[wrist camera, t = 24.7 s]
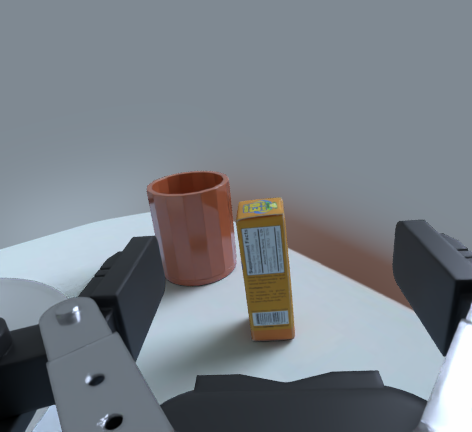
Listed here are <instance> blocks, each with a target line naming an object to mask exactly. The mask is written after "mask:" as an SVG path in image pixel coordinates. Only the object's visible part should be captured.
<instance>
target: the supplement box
mask: <svg viewBox="0 0 472 432" xmlns="http://www.w3.org/2000/svg"><path fill="white" fill-rule="evenodd" d="M236 226H237V233H238V240H239V247H240V255H241V263H242V270H243V276H244V284H245V291H246V299H247V306H248V313H249V321H250V328H251V336H252V340H253V341H274V340H288V339H294V337H295V329H294V315H293V302H292V290H291V278H290V267H289V257H288V246H287V236H286V226H285V218H284V209H283V201H282V198H281V197H278V198H268V199H257V200H250V201H243V202H239V205H238V211H237V218H236Z"/></svg>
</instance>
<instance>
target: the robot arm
mask: <svg viewBox="0 0 472 432" xmlns="http://www.w3.org/2000/svg"><path fill="white" fill-rule="evenodd" d="M393 274H394V278H395V281H396V283H397V285H398V286H399V288H400V289H401V291H402V292H403V294H404V296H405V297H406V299H407V300H408V302H409V303H410V305H411V307H412V308H413V310H414V311H415V313H416V314H417V316H418V317H419V319H420V321H421V322H422V324H423V325H424V327H425V328H426V330H427V332H428V333H429V335H430V336H431V338H432V339H433V341H434V343H435V344H436V346H437V347H438V349H439V350H440V352H441V353H442V355H443V356H446V358H445V360H444V363H443V365H442V368H441V370H440V373H439V375H438V378H437V380H436V383H435V385H434V388H433V390H432V393H431V395H430V397H429V400H428V401H426V400H424V399H422V398H420V397H418V396H416V395H414V394H411V393H409V392H406V391H403V390H400V389H396V388H393V387H389V386H384V384H383V381H382V379H381V376H380V374H379V371H342V372H329V373H325V374H321V375H317V376H313V377H309V378H305V379H301V380H297V381H293V382H278V381H273V380H268V379H262V378H257V377H252V376H247V375H241V374H231V375H197V378H196V383H195V388H194V390H192V391H189V392H186V393H183V394H180V395H178V396H175V397H173V398H171V399H169V400H167V401H166V402H164V403H162V404H161V405H159V403H158V402H157V400H156V398H155V396H154V395H153V393H152V391H151V389H150V388H149V386H148V384H147V382H146V381H145V379H144V377H143V375H142V374H141V372H140V370H139V368H138V367H137V365H136V363H135V362H136V360H137V358H138V355H139V353H140V350H141V348H142V345H143V343H144V340H145V338H146V336H147V333H148V331H149V328H150V326H151V323H152V321H153V318H154V316H155V314H156V311H157V309H158V306H159V304H160V301H161V299H162V297H163V294H164V291H165V274H164V269H163V264H162V259H161V254H160V249H159V244H158V240H157V238H156V236H143V237H133V238H132V239H131V240H130V242H129V243H128V244H127V246H126V247H125V248H124V250H123V251H122V252H117V253H116V254H114V255H113V256H111V257H110V258H108V259H107V260H106V261H105V263H104V264H103V265H102V266H101V268H100V270H98V272H97V273H96V274H95V275H94V276H95V277H93V278H92V279H91V281H90V282H89V283H88V284H87V286H86V287H85V288H84V290H83V291H82V292H81V293H80V295H79V296H78V297H75V298H70V299H67V300H64V301H61V302H59V303H57V304H55V305H53V306H52V307H50V308H49V309H47V310H46V311H45V312H44V313H43V314H42V315H41V317H40V319H39V324H37V325H33V326H29V327H25V328H20V329H16V330H12V331H9V328H8V326H7V324H6V321H5V320H4V319H3V318H1V317H0V432H25V431H26V429H27V427H28V425H29V424H30V422H31V420H32V418H33V417H34V415H35V413H36V411H37V410H38V409H41V408H44V407H48V406H51V405H55V404H56V408H57V412H58V416H59V420H60V424H61V428H62V432H472V252H471V251H468V248H466V247H465V246H464V245H463V244H462V243H461V242H459V241H458V240H456V239H454V238H452V237H450V236H448V235H445V234H443V233H438V232H437V231H436V230H435V229H434V228H433V227H432V226H430V225H429V224H428V223H427V222H426V221H425V220H410V221H399V222H398V223H397V225H396V229H395V241H394V253H393Z"/></svg>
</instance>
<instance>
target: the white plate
mask: <svg viewBox="0 0 472 432" xmlns="http://www.w3.org/2000/svg"><path fill="white" fill-rule="evenodd" d="M67 299H68V298H67V297H66V296H65V295H64V294H63V293H61V292H60V291H58V290H57V289H55V288H53V287H51V286H49V285H46V284H43V283H40V282H36V281H32V280H26V279H18V278H0V317H1V318H3V319H4V320H5V321H6V324H7V326H8V328H9V331H12V330H16V329H20V328H25V327H29V326H33V325H37V324H39V319H40V317H41V315H42V314H43V313H44V312H45V311H46V310H47V309H49V308H50V307H52V306H53V305H55V304H57V303H59V302H61V301H64V300H67ZM48 408H49V406H48V407H44V408H41V409H38V410H37V411H36V413H35V415H34V417H33V418H32V420H31V422H30V424H29V425H28V427H27V429H26V431H25V432H32V430H33V429H34V428H35V426H36V425H37V424H38V422H39V421H40V420H41V418H42V417H43V415H44V414H45V412H46V411H47V409H48Z"/></svg>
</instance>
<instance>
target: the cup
mask: <svg viewBox="0 0 472 432" xmlns="http://www.w3.org/2000/svg"><path fill="white" fill-rule="evenodd" d="M147 195H148V200H149V205H150V211H151V216H152V221H153V226H154V232H155V236H156V238H157V240H158V244H159V249H160V254H161V259H162V264H163V269H164V274H165V278H166V279H167V280H168V281H170V282H172V283H174V284H178V285H183V286H199V285H205V284H210V283H213V282H216V281H218V280H221V279H223V278H224V277H226V276H227V275H229V274H230V273H231V272H232V271H233V270H234V268H235V266H236V246H235V236H234V226H233V216H232V207H231V197H230V186H229V178H228V177H227V176H226V175H225V174H222V173H219V172H213V171H191V172H184V173H178V174H173V175H169V176H165V177H162V178H160V179H157V180H155V181H153V182H152V183H150V184H149V185H148V186H147Z"/></svg>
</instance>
